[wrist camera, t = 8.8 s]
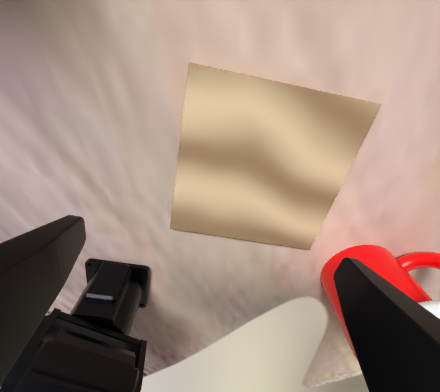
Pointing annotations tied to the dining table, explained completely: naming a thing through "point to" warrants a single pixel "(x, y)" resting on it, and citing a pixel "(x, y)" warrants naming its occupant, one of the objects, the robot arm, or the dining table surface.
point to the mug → (380, 273)
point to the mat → (262, 156)
